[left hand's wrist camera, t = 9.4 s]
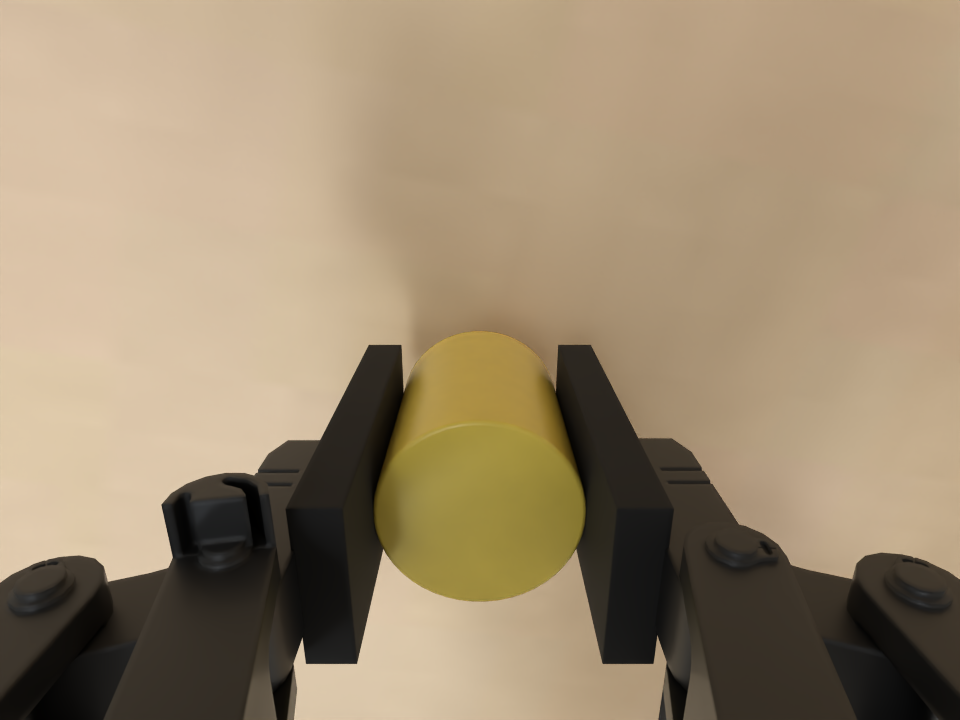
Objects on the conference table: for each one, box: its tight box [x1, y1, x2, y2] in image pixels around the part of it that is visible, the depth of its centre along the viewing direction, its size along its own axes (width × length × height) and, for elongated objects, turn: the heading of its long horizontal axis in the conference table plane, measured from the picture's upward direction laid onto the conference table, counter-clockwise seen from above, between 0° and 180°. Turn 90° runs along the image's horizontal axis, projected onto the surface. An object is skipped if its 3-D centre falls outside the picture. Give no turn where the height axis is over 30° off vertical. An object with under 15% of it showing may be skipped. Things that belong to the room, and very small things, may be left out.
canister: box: [373, 331, 586, 601], centre depth 13 cm, size 4×4×5 cm
